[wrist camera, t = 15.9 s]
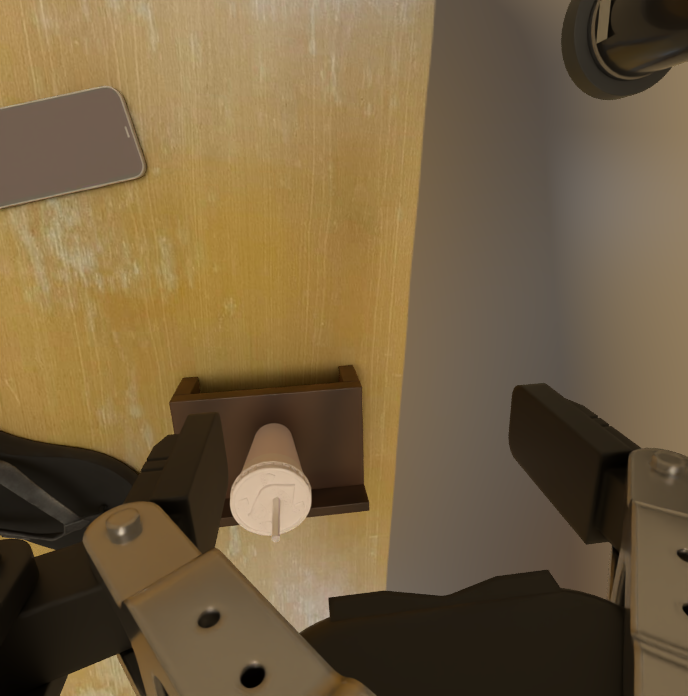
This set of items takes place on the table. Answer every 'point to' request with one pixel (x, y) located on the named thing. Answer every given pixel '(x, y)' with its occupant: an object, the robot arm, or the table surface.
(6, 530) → the sandal
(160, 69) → the table surface
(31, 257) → the table surface
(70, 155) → the smartphone
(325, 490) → the shelf
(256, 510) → the smoothie
